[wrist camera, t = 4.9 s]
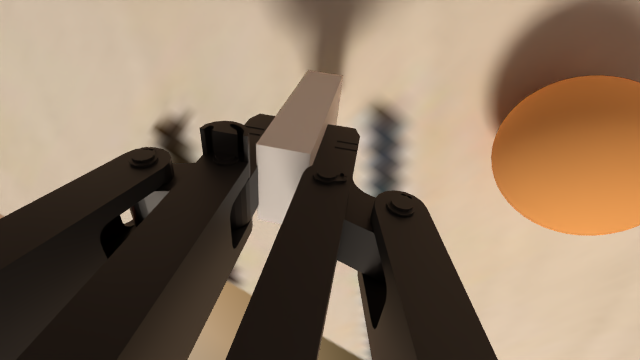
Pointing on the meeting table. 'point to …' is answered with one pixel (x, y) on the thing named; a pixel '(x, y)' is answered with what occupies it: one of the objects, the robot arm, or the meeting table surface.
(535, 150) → the ball
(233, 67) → the meeting table surface
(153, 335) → the robot arm
